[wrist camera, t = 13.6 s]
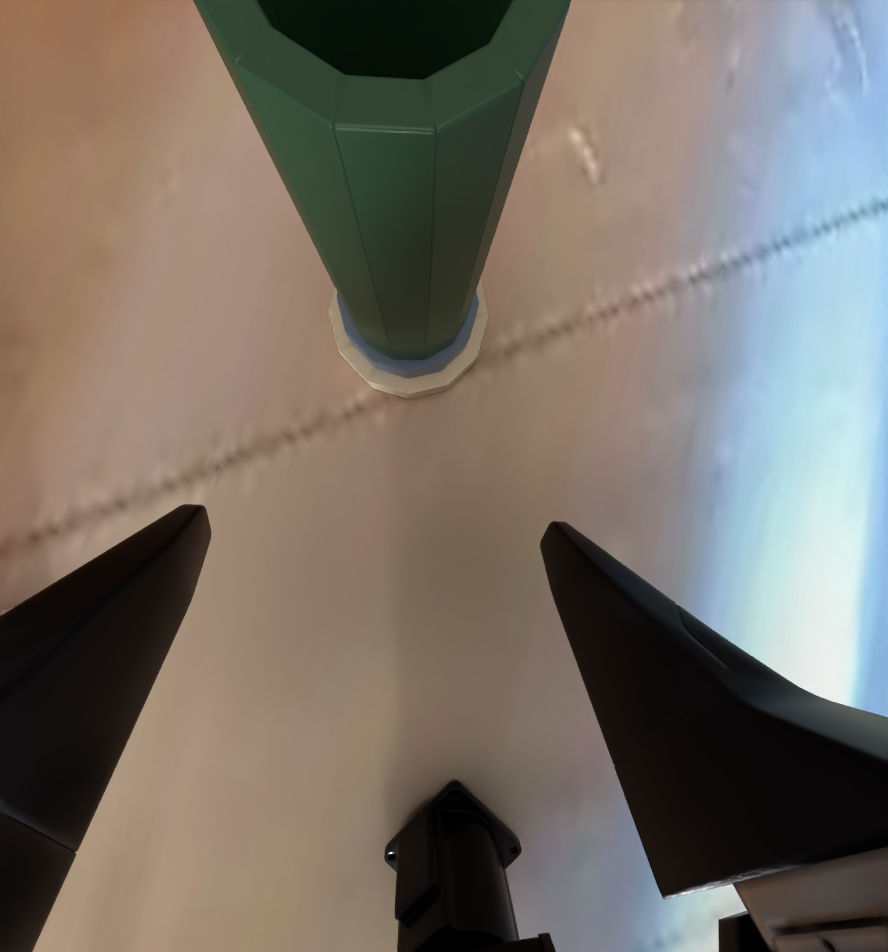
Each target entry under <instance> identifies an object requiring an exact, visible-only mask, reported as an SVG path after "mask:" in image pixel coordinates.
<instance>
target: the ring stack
mask: <svg viewBox="0 0 888 952" xmlns="http://www.w3.org/2000/svg"><path fill="white" fill-rule="evenodd" d="M328 312H329V316H330V320H331V324H332V328H333V332H334V335H335V339H336V343H337V347H338V350H339V352H340V353H341V355H342V356H343V357H344V359H345V360H346V361H347V362H348V363H349V364H350V365H351V366H352V367H353V368H354V369H355V371H356V372H357V373H358V374H359V375H360V376H361V377H362V378H363V379H364V380H365V381H366V382H367V383H368V384H369V385H370V386H371V387H373V388H374V389H377V390H380V391H383V392H387V393H390V394H393V395H396V396H400V397H403V398H406V399H413V398H418V397H422V396H426V395H431V394H435V393H439V392H443V391H446V390H447V389H448V388H450V387H451V386H452V385H453V384H454V383H455V382H456V381H457V380H458V379H459V378H460V377H461V376H462V375H463V374H464V373H465V372H466V371H467V370H468V369H469V368H471V367H472V366H473V364H474V362H475V360H476V358H477V356H478V354H479V350H480V347H481V344H482V340H483V337H484V333H485V330H486V326H487V323H488V320H489V318H488V317H489V314H488V310H487V306H486V301H485V297H484V293H483V288H482V284H481V279H480V280H479V283H478V286H477V289H476V292H475V295H474V298H473V301H472V304H471V307H470V310H469V313H468V316H467V319H466V321H465V322H464V324H463V326H462V328H461V330H460V331H459V333H458V335H457V337H456V339H455V340H454V342H453V343H452V344H451V345H450V346H448V347H446V348H445V349H443V350H441V351H440V352H438V353H436V354H434V355H433V356H431V357H429V358H427V359H425V360H395V359H392V358H390V357H388V356H387V355H385V354H383V353H382V352H380V351H378V350H376V349H375V348H373V347H371V346H370V345H368V344H366V342H365V341H364V340H363V338H362V336H361V335H360V333H359V331H358V329H357V328H356V326H355V324H354V323H353V321H352V319H351V318H350V316H349V314H348V312H347V310H346V308H345V306H344V304H343V302H342V300H341V298H340V296H339V294H338V292H337V290H336V288H335V286H334V289H333V293H332V296H331V300H330V303H329V307H328Z"/></svg>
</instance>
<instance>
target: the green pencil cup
mask: <svg viewBox="0 0 888 952" xmlns="http://www.w3.org/2000/svg"><path fill="white" fill-rule="evenodd" d="M193 1H194V3H195V5H196V7H197V9H198V11H199V13H200V15H201V17H202V19H203V21H204V23H205V25H206V27H207V29H208V31H209V33H210V35H211V37H212V40H213V42H214V44H215V46H216V48H217V50H218V52H219V54H220V56H221V58H222V60H223V62H224V64H225V66H226V68H227V70H228V72H229V74H230V76H231V78H232V80H233V82H234V84H235V86H236V88H237V90H238V92H239V94H240V96H241V98H242V100H243V102H244V104H245V106H246V108H247V110H248V112H249V114H250V116H251V118H252V120H253V122H254V124H255V126H256V128H257V130H258V132H259V134H260V136H261V138H262V140H263V142H264V144H265V146H266V148H267V150H268V153H269V155H270V157H271V159H272V161H273V163H274V165H275V167H276V169H277V171H278V173H279V175H280V177H281V179H282V181H283V183H284V185H285V187H286V189H287V191H288V193H289V195H290V197H291V199H292V201H293V203H294V205H295V207H296V209H297V211H298V213H299V215H300V217H301V219H302V221H303V223H304V225H305V227H306V229H307V231H308V233H309V235H310V237H311V239H312V241H313V243H314V245H315V247H316V249H317V251H318V253H319V255H320V257H321V259H322V261H323V264H324V266H325V268H326V270H327V272H328V274H329V276H330V278H331V280H332V282H333V284H334V286H335V288H336V290H337V292H338V294H339V296H340V298H341V300H342V302H343V304H344V306H345V308H346V310H347V312H348V314H349V316H350V318H351V319H352V321H353V323H354V324H355V326H356V328H357V329H358V331H359V333H360V335H361V336H362V338H363V340H364V341H365V342H366V344H368V345H370V346H371V347H373V348H375V349H376V350H378V351H380V352H382V353H383V354H385V355H387V356H388V357H390V358H392V359H395V360H425V359H427V358H429V357H431V356H433V355H434V354H436V353H438V352H440V351H441V350H443V349H445V348H446V347H448V346H450V345H451V344H452V343H453V342H454V340H455V339H456V337H457V335H458V333H459V331H460V330H461V328H462V326H463V324H464V322H465V321H466V319H467V316H468V313H469V310H470V307H471V304H472V301H473V298H474V295H475V292H476V289H477V286H478V283H479V280H480V277H481V274H482V271H483V268H484V265H485V262H486V259H487V256H488V253H489V250H490V247H491V243H492V240H493V237H494V234H495V231H496V228H497V225H498V222H499V219H500V216H501V213H502V210H503V207H504V204H505V201H506V198H507V195H508V192H509V189H510V186H511V183H512V180H513V177H514V174H515V171H516V167H517V164H518V161H519V158H520V155H521V152H522V149H523V146H524V143H525V140H526V137H527V134H528V131H529V128H530V125H531V122H532V119H533V116H534V113H535V110H536V107H537V104H538V101H539V98H540V95H541V91H542V88H543V85H544V82H545V79H546V76H547V73H548V70H549V67H550V64H551V61H552V58H553V55H554V52H555V49H556V46H557V43H558V40H559V37H560V34H561V31H562V28H563V25H564V22H565V19H566V15H567V12H568V9H569V6H570V2H571V0H193Z"/></svg>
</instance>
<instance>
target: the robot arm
mask: <svg viewBox="0 0 888 952" xmlns="http://www.w3.org/2000/svg"><path fill="white" fill-rule="evenodd" d="M210 540H211V528H210V523H209V519H208V515H207V510H206V508H205V507H204V506H203V505H192V504H184V505H181V506H179V507H178V508H176V509H174V510H173V511H171V512H170V513H168V514H166V515H165V516H163V517H161V518H160V519H158V520H156V521H155V522H153V523H152V524H150V525H148V526H147V527H145V528H143V529H142V530H140V531H138V532H137V533H135V534H134V535H132V536H130V537H129V538H127V539H125V540H124V541H122V542H120V543H119V544H117V545H116V546H114V547H112V548H111V549H109V550H107V551H106V552H104V553H102V554H101V555H99V556H98V557H96V558H94V559H93V560H91V561H89V562H88V563H86V564H84V565H83V566H81V567H80V568H78V569H76V570H75V571H73V572H71V573H70V574H68V575H66V576H65V577H63V578H62V579H60V580H58V581H57V582H55V583H53V584H52V585H50V586H48V587H47V588H45V589H44V590H42V591H40V592H39V593H37V594H35V595H34V596H32V597H30V598H29V599H27V600H26V601H24V602H22V603H21V604H19V605H17V606H16V607H14V608H12V609H11V610H9V611H8V612H6V613H4V614H3V615H1V616H0V952H32V951H33V949H34V947H35V944H36V942H37V940H38V938H39V936H40V933H41V931H42V929H43V927H44V925H45V922H46V920H47V918H48V916H49V914H50V911H51V909H52V907H53V905H54V903H55V900H56V898H57V896H58V894H59V892H60V889H61V887H62V885H63V883H64V881H65V878H66V876H67V874H68V872H69V870H70V867H71V865H72V863H73V861H74V859H75V856H76V853H75V852H76V851H77V850H78V849H79V847H80V845H81V843H82V840H83V838H84V836H85V834H86V832H87V829H88V827H89V825H90V823H91V821H92V818H93V816H94V814H95V812H96V810H97V807H98V805H99V803H100V801H101V799H102V796H103V794H104V792H105V790H106V788H107V785H108V783H109V781H110V779H111V777H112V774H113V772H114V770H115V768H116V766H117V763H118V761H119V759H120V757H121V755H122V752H123V750H124V748H125V746H126V744H127V741H128V739H129V737H130V735H131V733H132V730H133V728H134V726H135V724H136V722H137V719H138V717H139V715H140V713H141V711H142V708H143V706H144V704H145V702H146V700H147V697H148V695H149V693H150V691H151V689H152V686H153V684H154V682H155V680H156V678H157V675H158V673H159V671H160V669H161V667H162V664H163V662H164V660H165V658H166V656H167V653H168V651H169V649H170V647H171V645H172V642H173V640H174V638H175V636H176V634H177V631H178V629H179V627H180V625H181V623H182V620H183V618H184V616H185V614H186V612H187V609H188V607H189V605H190V602H191V600H192V597H193V594H194V591H195V588H196V585H197V582H198V578H199V575H200V572H201V569H202V566H203V562H204V559H205V556H206V553H207V550H208V546H209V543H210ZM540 548H541V552H542V556H543V560H544V564H545V568H546V572H547V576H548V580H549V584H550V588H551V592H552V595H553V598H554V601H555V604H556V607H557V610H558V612H559V615H560V618H561V621H562V623H563V626H564V629H565V632H566V634H567V637H568V640H569V643H570V646H571V648H572V651H573V654H574V657H575V659H576V662H577V665H578V668H579V670H580V673H581V676H582V679H583V681H584V684H585V687H586V690H587V692H588V695H589V698H590V701H591V703H592V706H593V709H594V712H595V714H596V717H597V720H598V723H599V725H600V728H601V731H602V734H603V736H604V739H605V742H606V745H607V748H608V750H609V753H610V756H611V759H612V761H613V764H614V765H615V766H614V767H615V770H616V773H617V776H618V778H619V781H620V784H621V787H622V789H623V792H624V795H625V798H626V800H627V803H628V806H629V809H630V811H631V814H632V817H633V820H634V822H635V825H636V828H637V831H638V834H639V836H640V839H641V842H642V845H643V847H644V850H645V853H646V856H647V858H648V861H649V864H650V867H651V869H652V872H653V875H654V878H655V880H656V883H657V886H658V888H659V891H660V893H661V895H662V897H663V899H669V898H673V897H678V896H682V895H686V894H690V893H695V892H699V891H703V890H707V889H712V888H716V887H720V886H724V885H729V884H733V886H734V887H735V889H736V891H737V893H738V895H739V897H740V898H741V900H742V902H743V904H744V906H745V908H746V910H747V911H744V912H741V913H738V914H735V915H732V916H729V917H726V918H723V919H719V952H888V717H885V716H881V715H878V714H874V713H871V712H867V711H864V710H860V709H857V708H853V707H849V706H846V705H842V704H839V703H836V702H832V701H829V700H827V699H824V698H821V697H819V696H816V695H814V694H812V693H810V692H808V691H806V690H804V689H802V688H800V687H798V686H797V685H795V684H793V683H792V682H790V681H789V680H787V679H786V678H784V677H783V676H781V675H780V674H778V673H777V672H775V671H773V670H772V669H770V668H769V667H767V666H766V665H764V664H763V663H761V662H760V661H758V660H757V659H755V658H754V657H752V656H751V655H749V654H748V653H746V652H745V651H743V650H742V649H740V648H739V647H737V646H736V645H734V644H733V643H731V642H730V641H728V640H727V639H725V638H724V637H722V636H721V635H720V634H718V633H717V632H715V631H714V630H712V629H711V628H709V627H708V626H707V625H705V624H704V623H702V622H701V621H700V620H698V619H697V618H695V617H694V616H693V615H691V614H690V613H689V612H687V611H686V610H684V609H683V608H682V607H680V606H679V605H676V603H675V602H674V601H672V600H671V599H669V598H668V597H667V596H665V595H664V594H663V593H661V592H660V591H659V590H657V589H656V588H654V587H653V586H652V585H650V584H649V583H648V582H646V581H645V580H644V579H642V578H641V577H640V576H638V575H637V574H635V573H634V572H633V571H631V570H630V569H629V568H627V567H626V566H625V565H623V564H622V563H621V562H619V561H618V560H616V559H615V558H614V557H612V556H611V555H610V554H608V553H607V552H606V551H604V550H603V549H601V548H600V547H599V546H597V545H596V544H595V543H593V542H592V541H591V540H589V539H588V538H587V537H585V536H584V535H582V534H581V533H580V532H578V531H577V530H576V529H574V528H573V527H572V526H570V525H569V524H568V523H566V522H559V521H553V522H551V523H550V524H549V526H548V528H547V530H546V532H545V534H544V536H543V537H542V540H541V543H540ZM455 791H457V793H453V792H455ZM521 851H522V849H521V845H520V841H519V839H518V838H517V837H516V836H515V835H514V834H513V833H512V832H511V831H510V830H509V829H508V828H506V827H505V826H504V825H503V824H502V823H501V822H500V821H499V820H498V819H497V818H496V817H495V816H494V815H493V814H492V813H491V812H490V811H489V810H487V809H486V808H485V807H484V806H483V805H482V804H481V803H480V802H479V801H478V800H477V799H476V798H475V797H474V796H473V795H472V794H471V793H470V792H469V791H467V790H466V789H465V788H464V787H463V786H462V785H461V784H460V783H458V782H452V783H451V784H449V785H448V786H447V787H446V788H445V789H444V790H443V791H442V792H441V793H440V794H439V795H438V796H437V797H436V798H435V799H434V800H433V801H432V802H431V803H430V804H429V805H428V806H427V807H425V808H424V809H423V810H422V811H421V812H420V813H419V814H418V815H417V816H416V817H415V818H414V819H413V820H412V821H411V822H410V823H409V824H408V825H407V826H406V827H405V828H404V829H403V830H402V831H401V832H400V833H399V834H398V835H397V836H396V837H395V838H394V839H393V840H392V841H391V842H390V843H389V844H388V845H387V846H386V848H385V856H384V858H385V861H386V862H387V863H388V864H389V865H390V866H391V867H392V868H393V869H394V870H395V871H396V872H397V880H396V898H395V919H396V920H397V921H399V924H398V945H397V952H556V951H555V948H554V945H553V943H552V940H551V937H550V934H549V933H542V934H538V937H535V938H528V939H521V940H520V939H519V934H518V929H517V925H516V920H515V915H514V910H513V905H512V900H511V895H510V891H509V886H508V881H507V876H506V871H505V869H506V868H507V867H508V866H509V865H510V864H511V863H512V862H513V861H514V860H515V859H516V858H517V857H518V856H519V855H520V854H521ZM391 853H394V854H391Z"/></svg>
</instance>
